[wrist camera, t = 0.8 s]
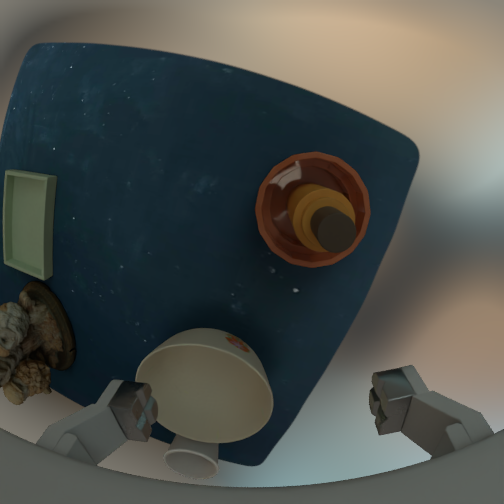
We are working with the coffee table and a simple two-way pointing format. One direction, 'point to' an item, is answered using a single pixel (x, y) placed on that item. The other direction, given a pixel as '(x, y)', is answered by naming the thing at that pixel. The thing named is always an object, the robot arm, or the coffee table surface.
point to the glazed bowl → (275, 214)
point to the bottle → (321, 218)
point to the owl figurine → (33, 342)
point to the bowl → (208, 386)
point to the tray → (29, 222)
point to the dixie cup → (192, 458)
